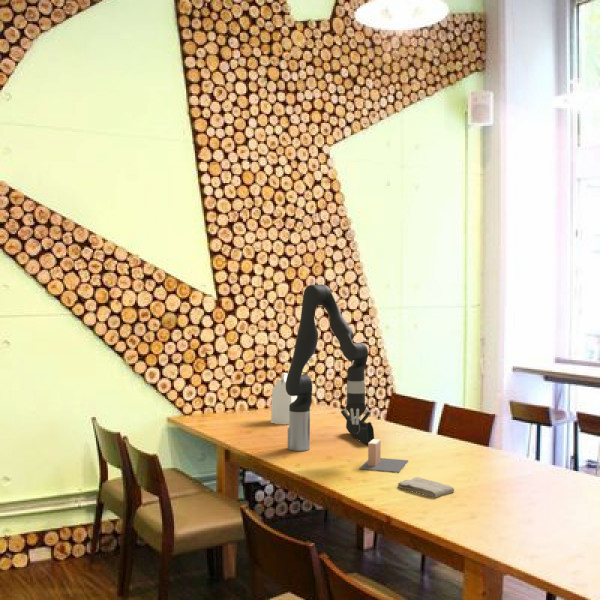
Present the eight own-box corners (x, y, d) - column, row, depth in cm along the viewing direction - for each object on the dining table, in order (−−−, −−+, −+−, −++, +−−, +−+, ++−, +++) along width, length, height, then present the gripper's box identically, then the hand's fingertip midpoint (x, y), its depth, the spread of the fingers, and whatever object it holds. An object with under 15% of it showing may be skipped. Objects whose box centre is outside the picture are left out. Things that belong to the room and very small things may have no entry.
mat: (359, 469, 292) (359, 468, 292) (370, 458, 311) (370, 457, 311) (398, 472, 287) (398, 471, 287) (408, 461, 306) (408, 460, 306)
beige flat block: (368, 465, 297) (368, 443, 296) (373, 460, 305) (373, 438, 305) (375, 466, 296) (375, 443, 295) (380, 461, 304) (380, 439, 304)
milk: (291, 424, 384) (291, 375, 384) (270, 423, 387) (271, 374, 387) (298, 420, 396) (298, 372, 395) (277, 419, 399) (278, 371, 398)
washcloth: (416, 483, 274) (416, 474, 274) (455, 493, 261) (455, 484, 261) (395, 489, 266) (395, 480, 266) (435, 500, 253) (435, 491, 253)
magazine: (376, 427, 332) (355, 398, 360) (370, 427, 331) (348, 398, 359) (372, 460, 337) (351, 430, 365) (366, 461, 337) (345, 430, 364)
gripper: (337, 392, 301) (338, 434, 301) (369, 393, 297) (369, 436, 297) (342, 389, 308) (342, 430, 308) (373, 390, 304) (373, 432, 304)
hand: (356, 433), depth 302 cm, fingers closed
